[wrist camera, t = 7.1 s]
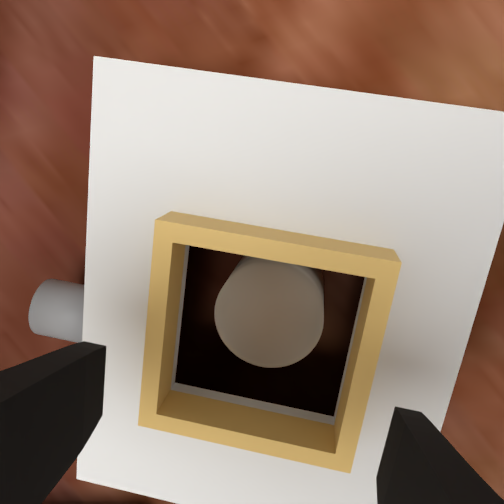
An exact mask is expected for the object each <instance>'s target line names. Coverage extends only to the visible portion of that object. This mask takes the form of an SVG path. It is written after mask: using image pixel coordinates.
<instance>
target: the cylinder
mask: <svg viewBox="0 0 504 504" xmlns="http://www.w3.org/2000/svg"><path fill="white" fill-rule="evenodd" d="M214 316H215V323H216V328H217V330H218V333H219V335H220V337H221V339H222V341H223V342H224V344H225V345H226V346H227V347H228V348H229V350H230V351H231V352H233V353H234V354H235V355H236V356H238V357H239V358H240V359H242V360H244V361H246V362H248V363H251V364H253V365H257V366H260V367H268V368H276V367H283V366H288V365H291V364H293V363H296V362H298V361H300V360H301V359H303V358H304V357H306V356H307V355H308V354H309V353H310V352H311V351H312V350H313V349H314V347H315V346H316V344H317V343H318V341H319V339H320V337H321V334H322V330H323V325H324V278H323V273H322V270H321V269H318V268H312V267H307V266H301V265H295V264H290V263H284V262H279V261H273V260H268V259H262V258H256V257H251V256H245V255H243V257H242V258H241V260H240V261H239V263H238V264H237V266H236V267H235V269H234V270H233V272H232V273H231V275H230V276H229V278H228V279H227V281H226V283H225V284H224V286H223V287H222V289H221V290H220V292H219V294H218V297H217V300H216V304H215V312H214Z"/></svg>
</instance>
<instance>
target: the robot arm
mask: <svg viewBox="0 0 504 504" xmlns="http://www.w3.org/2000/svg"><path fill="white" fill-rule="evenodd" d="M105 364H106V346H105V345H100V344H95V343H90V342H86V341H83V342H79V343H76V344H73V345H70V346H67V347H64V348H61V349H59V350H56V351H53V352H51V353H48V354H45V355H43V356H40V357H37V358H35V359H32V360H29V361H27V362H24V363H22V364H19V365H16V366H14V367H11V368H8V369H5V370H2V371H0V504H41V503H42V502H43V501H44V500H45V498H46V497H47V496H48V494H49V493H50V492H51V491H52V489H53V488H54V487H55V485H56V484H57V483H58V482H59V480H60V479H61V478H62V476H63V475H64V474H65V472H66V471H67V470H68V468H69V467H70V466H71V465H72V463H73V462H74V461H75V459H76V458H77V457H78V455H79V454H80V453H81V451H82V450H83V448H84V446H85V445H86V443H87V441H88V440H89V438H90V437H91V435H92V433H93V431H94V430H95V428H96V426H97V424H98V422H99V421H100V419H101V417H102V415H103V399H104V381H105ZM376 485H377V504H504V500H503V499H502V498H501V497H500V496H499V495H498V494H497V493H496V492H495V491H494V490H493V489H492V488H491V487H490V486H489V485H488V484H487V483H486V482H485V481H484V480H483V479H482V478H481V477H480V476H479V475H478V474H477V473H476V471H475V470H474V469H473V468H472V467H471V466H470V465H469V464H468V463H467V462H466V461H465V460H464V458H463V457H462V456H461V455H460V454H459V453H458V452H457V451H456V449H455V448H454V447H453V446H452V445H451V444H450V443H449V442H448V440H447V439H446V438H445V437H444V436H443V435H442V434H441V432H440V431H439V430H438V429H437V428H436V427H435V426H434V425H433V423H432V422H431V421H430V420H429V419H428V418H427V417H426V416H425V415H424V414H423V413H422V412H420V411H415V410H410V409H405V408H401V407H396V406H395V408H394V412H393V416H392V419H391V423H390V427H389V431H388V434H387V438H386V442H385V446H384V450H383V453H382V457H381V461H380V465H379V469H378V472H377V476H376Z"/></svg>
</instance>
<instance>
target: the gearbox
mask: <svg viewBox="0 0 504 504" xmlns="http://www.w3.org/2000/svg"><path fill="white" fill-rule="evenodd" d="M503 223H504V112H502V111H495V110H488V109H480V108H473V107H466V106H458V105H451V104H443V103H436V102H429V101H421V100H414V99H407V98H399V97H392V96H385V95H377V94H370V93H363V92H355V91H348V90H340V89H333V88H326V87H318V86H311V85H304V84H296V83H289V82H282V81H274V80H267V79H259V78H252V77H245V76H237V75H230V74H223V73H215V72H208V71H201V70H193V69H186V68H178V67H171V66H164V65H156V64H149V63H142V62H134V61H127V60H120V59H112V58H105V57H98V56H94V62H93V87H92V112H91V136H90V161H89V186H88V210H87V235H86V259H85V284H84V285H82V284H77V283H72V282H67V281H62V280H57V279H48V280H46V281H44V282H43V283H42V284H41V285H40V286H39V288H38V289H37V291H36V292H35V294H34V296H33V298H32V301H31V305H30V309H29V325H30V328H31V330H32V331H33V332H34V333H35V334H39V335H44V336H49V337H54V338H59V339H63V340H68V341H73V342H78V343H79V342H83V341H86V342H90V343H95V344H100V345H105V346H106V364H105V381H104V399H103V415H102V417H101V419H100V421H99V422H98V424H97V426H96V428H95V430H94V431H93V433H92V435H91V437H90V438H89V440H88V441H87V443H86V445H85V446H84V448H83V450H82V451H81V453H80V454H79V455H78V457H77V479H79V480H83V481H87V482H91V483H95V484H99V485H104V486H108V487H112V488H116V489H120V490H124V491H128V492H132V493H136V494H140V495H144V496H149V497H153V498H157V499H161V500H165V501H169V502H173V503H177V504H377V485H376V476H377V472H378V469H379V465H380V461H381V457H382V453H383V450H384V446H385V442H386V438H387V434H388V431H389V427H390V423H391V419H392V416H393V412H394V408H395V406H396V407H401V408H405V409H410V410H415V411H420V412H422V413H423V414H424V415H425V416H426V417H427V418H428V419H429V420H430V421H431V422H432V423H433V425H434V426H435V427H436V428H437V429H438V430H439V431H441V428H442V425H443V422H444V418H445V415H446V412H447V408H448V405H449V402H450V398H451V395H452V392H453V388H454V385H455V382H456V378H457V375H458V372H459V369H460V365H461V362H462V359H463V355H464V352H465V349H466V345H467V342H468V339H469V335H470V332H471V329H472V325H473V322H474V319H475V316H476V312H477V309H478V306H479V302H480V299H481V296H482V292H483V289H484V286H485V282H486V279H487V276H488V272H489V269H490V266H491V263H492V259H493V256H494V253H495V249H496V246H497V243H498V239H499V236H500V233H501V229H502V226H503ZM189 245H190V246H195V247H201V248H206V249H212V250H217V251H223V252H229V253H234V254H240V255H245V256H251V257H256V258H262V259H268V260H273V261H279V262H284V263H290V264H295V265H301V266H307V267H312V268H318V269H323V270H329V271H334V272H340V273H346V274H351V275H357V276H362V277H365V278H364V283H363V287H362V292H361V296H360V301H359V305H358V310H357V314H356V319H355V323H354V328H353V332H352V337H351V341H350V346H349V350H348V355H347V359H346V364H345V368H344V373H343V377H342V382H341V386H340V391H339V395H338V400H337V404H336V409H335V413H334V416H329V415H324V414H320V413H315V412H310V411H306V410H301V409H296V408H292V407H287V406H282V405H278V404H273V403H268V402H264V401H259V400H254V399H250V398H245V397H240V396H236V395H231V394H226V393H222V392H217V391H212V390H208V389H203V388H198V387H194V386H189V385H184V384H180V383H175V377H176V367H177V358H178V349H179V339H180V330H181V320H182V311H183V302H184V292H185V283H186V273H187V264H188V255H189Z"/></svg>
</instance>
